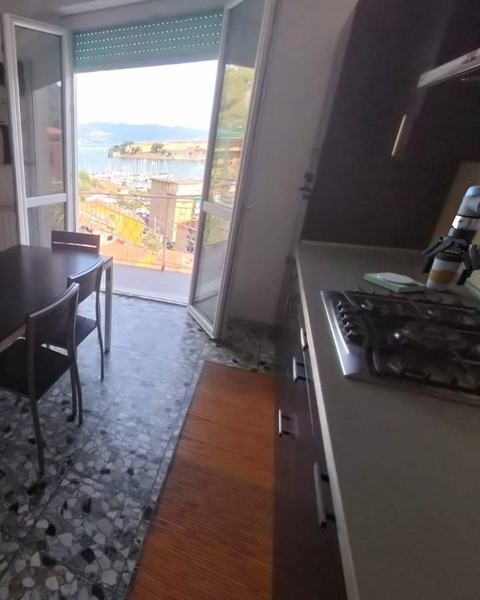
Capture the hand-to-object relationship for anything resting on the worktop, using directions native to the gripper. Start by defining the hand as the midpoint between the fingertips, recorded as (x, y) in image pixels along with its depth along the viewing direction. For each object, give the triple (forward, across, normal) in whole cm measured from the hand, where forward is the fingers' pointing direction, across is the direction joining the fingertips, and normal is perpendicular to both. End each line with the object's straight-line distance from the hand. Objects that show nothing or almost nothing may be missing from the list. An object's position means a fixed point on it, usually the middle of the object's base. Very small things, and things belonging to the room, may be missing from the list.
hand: (441, 278), depth 147 cm
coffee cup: (+5, 0, 0) cm, 5 cm away
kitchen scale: (+4, -7, -14) cm, 16 cm away
